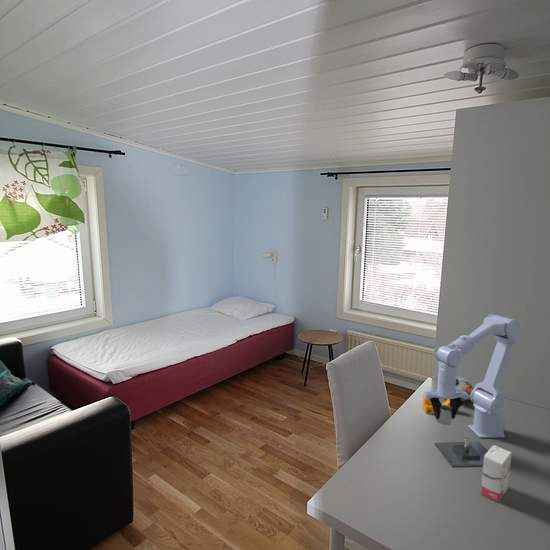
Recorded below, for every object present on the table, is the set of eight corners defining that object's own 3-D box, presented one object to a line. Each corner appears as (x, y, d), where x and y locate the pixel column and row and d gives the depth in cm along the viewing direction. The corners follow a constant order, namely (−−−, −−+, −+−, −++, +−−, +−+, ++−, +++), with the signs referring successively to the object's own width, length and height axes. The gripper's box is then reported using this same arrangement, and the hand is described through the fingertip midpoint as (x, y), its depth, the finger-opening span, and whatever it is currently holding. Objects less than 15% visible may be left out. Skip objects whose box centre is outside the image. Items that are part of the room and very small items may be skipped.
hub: (447, 417, 133) (448, 404, 132) (454, 424, 128) (455, 411, 128) (434, 417, 133) (435, 404, 132) (440, 425, 128) (441, 411, 127)
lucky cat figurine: (475, 395, 166) (485, 376, 158) (468, 415, 158) (478, 396, 150) (441, 379, 173) (449, 360, 165) (432, 397, 165) (441, 378, 157)
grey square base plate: (479, 443, 131) (480, 428, 130) (500, 465, 119) (502, 449, 118) (434, 444, 130) (435, 429, 129) (451, 466, 118) (452, 450, 118)
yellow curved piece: (425, 414, 151) (426, 399, 150) (422, 408, 155) (423, 394, 154) (456, 415, 150) (457, 400, 149) (452, 410, 154) (453, 395, 153)
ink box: (498, 503, 103) (502, 464, 101) (479, 493, 107) (482, 456, 105) (508, 488, 109) (512, 451, 107) (490, 479, 112) (493, 444, 111)
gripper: (461, 375, 132) (458, 411, 134) (421, 376, 132) (419, 411, 134) (472, 384, 125) (469, 421, 127) (429, 385, 125) (427, 422, 127)
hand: (444, 417), depth 130 cm, fingers closed on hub, 5 cm apart
